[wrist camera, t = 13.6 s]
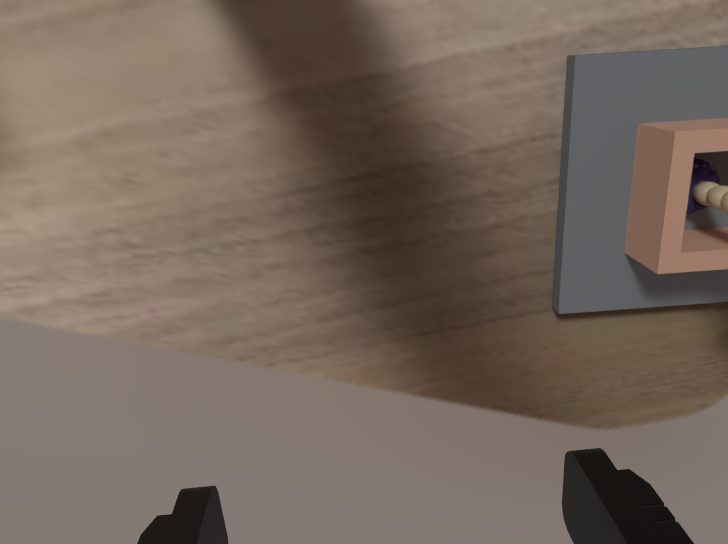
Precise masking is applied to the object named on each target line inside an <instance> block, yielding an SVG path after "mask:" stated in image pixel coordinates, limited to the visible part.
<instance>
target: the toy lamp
mask: <svg viewBox="0 0 728 544" xmlns="http://www.w3.org/2000/svg"><path fill="white" fill-rule="evenodd" d="M708 206H711V207H713V208H714V209H717V210H720V211H726V212H727V213H728V186H720V178H719V175H718V173H717V171H716V170H715V168H714V167H713V166H712V165H710V164H709V163H708V162H706V161H704V160H701V159H695V158H694V161H693V168H692V175H691V182H690V189H689V197H688V204H687V211H686V214H690V213H695V212H699V211H701V210H703V209H705V208H706V207H708Z"/></svg>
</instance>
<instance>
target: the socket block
mask: <svg viewBox="0 0 728 544" xmlns="http://www.w3.org/2000/svg"><path fill="white" fill-rule="evenodd" d="M694 158H695V159H701V160H704V161H706V162H708V163H709V164H710V165H712V166H713V167H714V168H715V170H716V171H717V173H718V175H719V178H720V186H728V46H719V47H703V48H686V49H670V50H653V51H636V52H620V53H603V54H587V55H570V56H567V70H566V86H565V103H564V119H563V135H562V151H561V168H560V184H559V200H558V216H557V233H556V249H555V265H554V281H553V298H552V308H553V309H554V310H555V311H556V312H557V313H558V314H567V313H581V312H595V311H609V310H622V309H636V308H650V307H663V306H677V305H691V304H704V303H718V302H728V213H727V212H726V211H720V210H717V209H714V208H713V207H711V206H708V207H706V208H705V209H703V210H701V211H699V212H695V213H690V214H686V211H687V204H688V197H689V189H690V182H691V175H692V168H693V161H694Z"/></svg>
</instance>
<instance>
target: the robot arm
mask: <svg viewBox="0 0 728 544" xmlns="http://www.w3.org/2000/svg"><path fill="white" fill-rule="evenodd" d="M562 510H563V516H564V521H565V524H566V527H567V530H568V532H569V535H570V537H571V539H572V541H573V543H574V544H694V543H693V542H692V541H691V539H690V538H689V536H688V535H687V534H686V532H685V531H684V530H683V528H682V527H681V526H680V524H679V523H678V522H676V521H675V517H674V516H673V515H672V513H671V512H670V511H669V509H668V508H667V507H665V506H664V503H663V501H662V500H661V498H660V497H659V496H658V494H657V493H656V492H655V490H654V489H653V488H652V486H651V485H650V484H649V483H647V482H646V481H645V480H643V479H642V478H641V477H639V476H638V475H637V474H635V473H634V472H632V471H631V470H630V469H625V470H617V469H616V468H615V466H614V465H613V463H612V462H611V460H610V459H609V458H608V456H607V455H606V453H605V452H604V451H603V450H602V449H600V448H596V449H586V450H576V451H568V452H567V453H566V455H565V463H564V480H563V497H562ZM137 544H228V537H227V532H226V527H225V522H224V518H223V513H222V508H221V503H220V499H219V494H218V490H217V488H216V486H208V487H197V488H187V489H182V490H181V491H180V492H179V495H178V498H177V500H176V504H175V506H174V510H173V512H172V514H170V515H160V516H157V517H156V518H155V519H154V520H153V521H152V523H151V524H150V525H149V526H148V527H147V528H146V530H145V531H144V532H143V533H142V534H141V536H140V538H139V541H138V543H137Z"/></svg>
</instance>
